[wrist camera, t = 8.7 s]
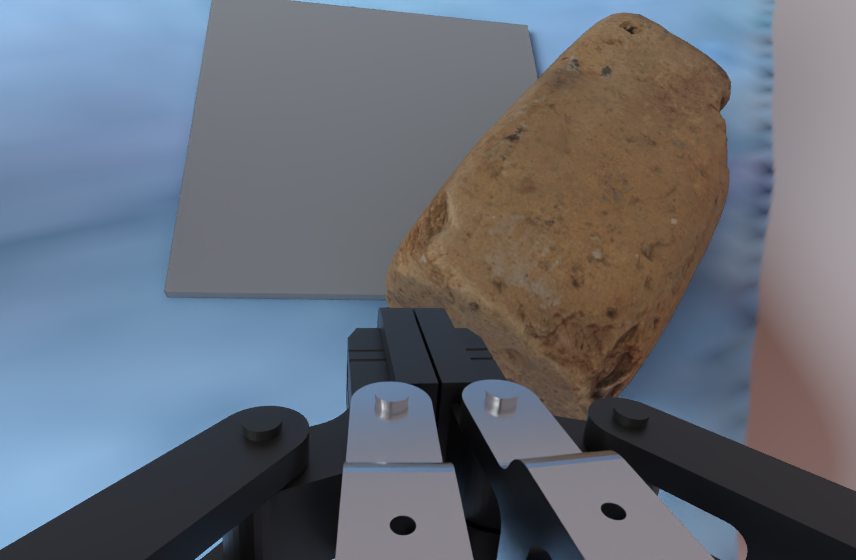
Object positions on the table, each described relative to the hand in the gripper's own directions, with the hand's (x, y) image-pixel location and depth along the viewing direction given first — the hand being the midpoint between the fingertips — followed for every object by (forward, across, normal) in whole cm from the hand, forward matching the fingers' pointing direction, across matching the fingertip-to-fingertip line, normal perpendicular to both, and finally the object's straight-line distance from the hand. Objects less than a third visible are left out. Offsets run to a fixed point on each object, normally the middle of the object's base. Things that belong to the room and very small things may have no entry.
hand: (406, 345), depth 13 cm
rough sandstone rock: (+7, -4, +4) cm, 9 cm away
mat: (+21, -1, -3) cm, 21 cm away
